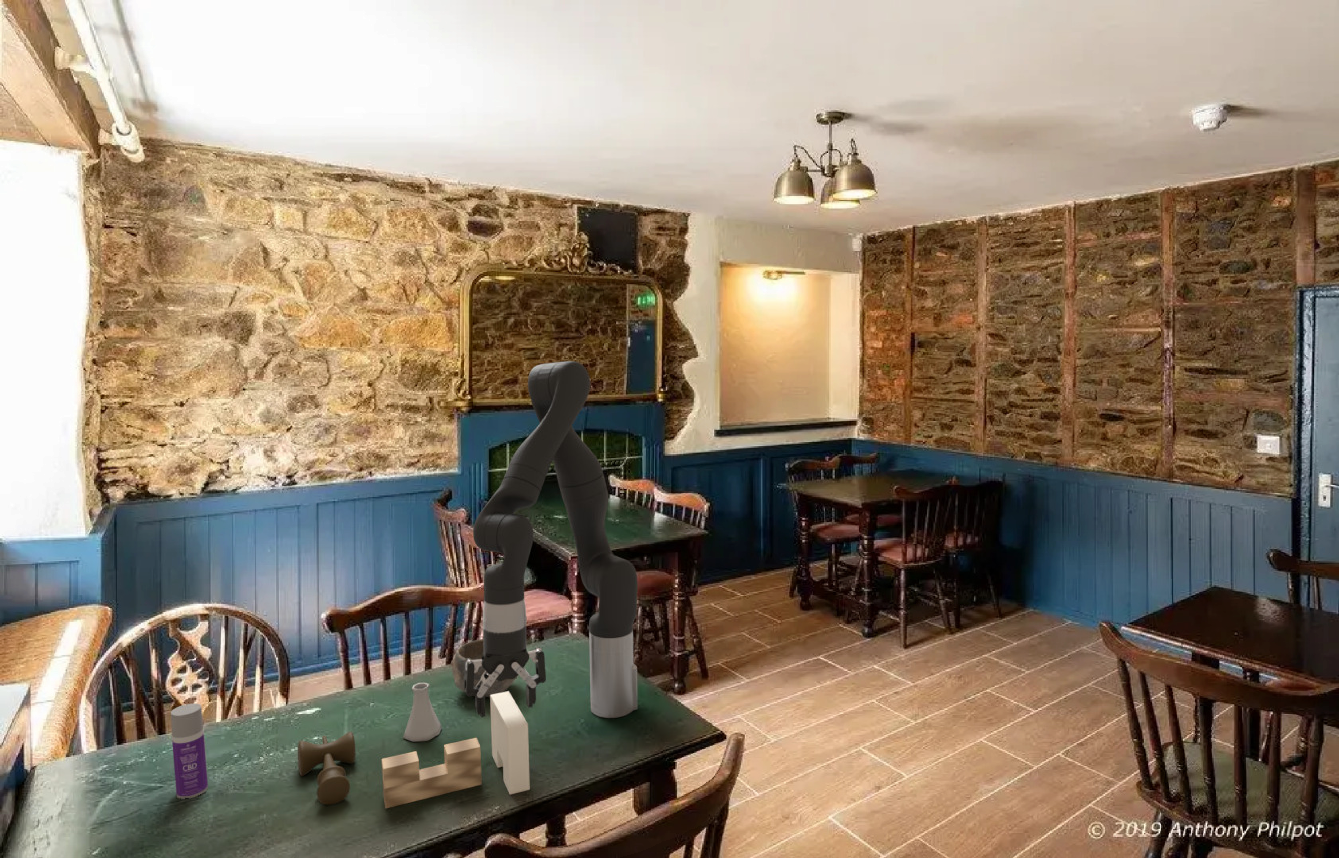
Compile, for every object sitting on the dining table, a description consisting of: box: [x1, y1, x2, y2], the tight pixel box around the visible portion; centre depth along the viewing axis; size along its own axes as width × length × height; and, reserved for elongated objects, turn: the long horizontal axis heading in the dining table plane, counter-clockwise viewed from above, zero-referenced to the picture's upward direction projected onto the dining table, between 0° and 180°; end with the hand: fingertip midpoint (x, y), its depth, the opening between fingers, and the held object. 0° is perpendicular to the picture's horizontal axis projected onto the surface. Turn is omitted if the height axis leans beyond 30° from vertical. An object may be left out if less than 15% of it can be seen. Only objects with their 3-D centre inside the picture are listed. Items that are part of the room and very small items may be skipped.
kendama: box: [297, 731, 356, 806], centre depth 136 cm, size 6×10×20 cm
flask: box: [402, 682, 443, 743], centre depth 150 cm, size 7×7×10 cm
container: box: [170, 703, 209, 800], centre depth 131 cm, size 5×5×15 cm
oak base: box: [381, 737, 482, 809], centre depth 131 cm, size 16×4×7 cm, turn 115°
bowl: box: [450, 638, 518, 698], centre depth 169 cm, size 14×15×10 cm
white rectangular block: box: [489, 690, 531, 795], centre depth 136 cm, size 14×4×12 cm, turn 26°
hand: (505, 710), depth 136 cm, fingers open, 8 cm apart
